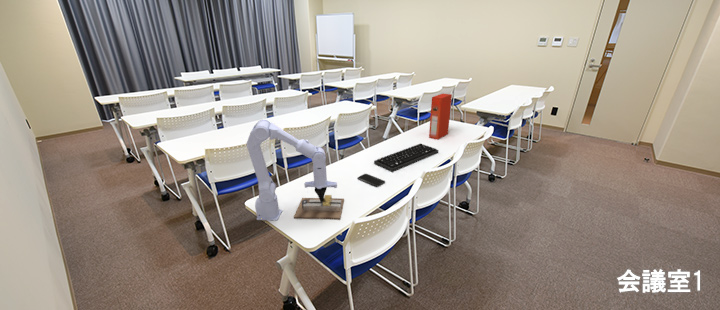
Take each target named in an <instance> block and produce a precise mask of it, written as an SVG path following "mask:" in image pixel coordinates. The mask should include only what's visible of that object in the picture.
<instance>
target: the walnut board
mask: <svg viewBox="0 0 720 310" xmlns="http://www.w3.org/2000/svg"><path fill="white" fill-rule="evenodd" d="M310 199H311V200H320V199H319V197H316V198H315V197H301V200H300V202H299V204H298V206H297V208H296V211H295V213H294V215H293V219H295V220H296V219H297V220H298V219H299V220H300V219H302V220H304V219H306V220H337V221H338V220H341V218H342V213H343V208H344V204H345V203H344V202H345V198H337V197H336V198H333V197H332V199H331V200H341V205H342V206H341V211H340V212H323V211H304V209H303V208H302V200H308V203H309V200H310Z"/></svg>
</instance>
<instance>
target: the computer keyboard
mask: <svg viewBox="0 0 720 310" xmlns="http://www.w3.org/2000/svg"><path fill="white" fill-rule="evenodd" d="M437 154H439V149H437V148H436V147H432V146H429V145H426V144H422V143H418V144H415V145H413V146H410V147H408V148H405V149H402V150H400V151H396V152H394V153H391V154H389V155H385V156H382V157H379V158H377V159H375V160H374V161H373V164H374V165H375V166H378V167H380V168H382V169H384V170H387V171H388V172H391V173H394V172H396V171H398V170H401V169H404V168H406V167H407V166H408V167H409V166H410V165H411V166H412V165H413V164H415V163H418V162H420V161H422V160H424V159H428V158H429V157H433V156H434V155H437Z"/></svg>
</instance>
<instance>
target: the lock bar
mask: <svg viewBox="0 0 720 310" xmlns="http://www.w3.org/2000/svg"><path fill="white" fill-rule="evenodd" d="M332 198H333V197H332V194H324V200H323V206H330V202H331V199H332Z"/></svg>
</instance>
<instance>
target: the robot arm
mask: <svg viewBox="0 0 720 310" xmlns="http://www.w3.org/2000/svg"><path fill="white" fill-rule="evenodd" d="M268 139H269V140H270V141H271V140H277V139H278V140H280V141H282V142H284V143H286V144H288V145H290V146H292V147H294V148H295V151H296V152H297V153H300V154H301V155H303V156H305V157H306V158H309V159H311V162H312V163H313V164H312V174H313V180H312V181H305V182H304V188H306V189H307V188H314V192H315V194H317V198H319V199H320V202H323V200H324V197H325V195H326V191H327V190H328V189H327V188H334V189H337V188H338V182H336V181H331V180H330V181H329V180H327V164H326V161H327V160H326V159H327V158H326V152H325V149H324V148H322V146H317V145H314V144H312V143H311V142H310V141H309V140H308V139H304V138H303V139H298V138H297V137H296V136H294V135H292V134H290V133H289V132H287V131H285V130H284V129H282V128H281V127H279V126H278V125H276V124H275V123H273V122H271V121H269V120H268V119H260V120H259V121H257V123H255V125H254V126H253V127H252V129H251V131H250V132H249V136H248V139H247V141H246V147H247V151H248V154H249V157H250V160H251V163H252V167H253V169H254V173H255V177H256V179H257V185H258V191H259V193H258V197H257V198H256V200H255V203H254V207H255V208H254V209H255V214H256V220H257V221H278V220H279V217H281V216H280V215H281V214H282V212H283V209H280V208H279V207H280V206H279V201H278V200H279V199H278V195H277V194H276V189H277V184H276V183H275V182H274V180H273V179H272V177H271V176H270V174H269V170H268V167H267V163H266V161H265V157H264V154H263V151H262V147H261V145H262V143H263V142H265V141H267V140H268ZM261 218H262V219H261Z"/></svg>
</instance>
